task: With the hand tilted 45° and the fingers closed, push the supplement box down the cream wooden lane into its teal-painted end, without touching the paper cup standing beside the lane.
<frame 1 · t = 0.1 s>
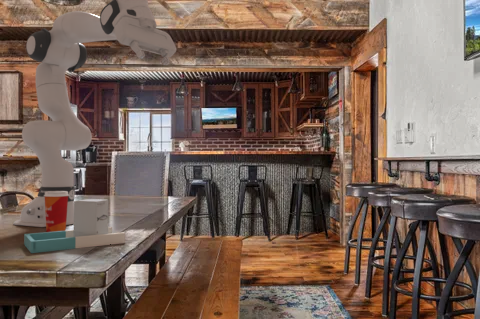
hand: (154, 60, 121), 54 cm above the table, tool tilted 30°, fingers open, 8 cm apart
supplement box: (91, 242, 121), resting in push lane
paper cup: (56, 234, 133), on the table
push lane: (77, 243, 119), on the table
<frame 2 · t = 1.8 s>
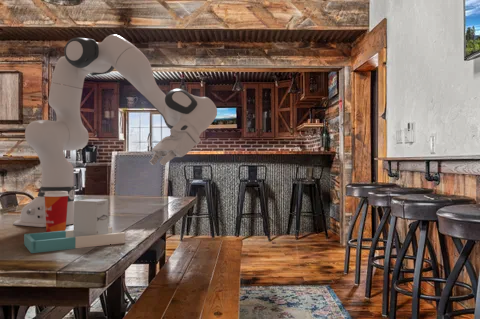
hand: (156, 163, 133), 23 cm above the table, tool tilted 45°, fingers open, 7 cm apart
nothing on the table moved.
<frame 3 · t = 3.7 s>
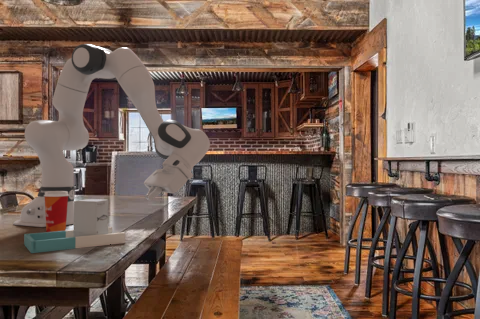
hand: (147, 199, 131), 12 cm above the table, tool tilted 45°, fingers closed
nothing on the table moved.
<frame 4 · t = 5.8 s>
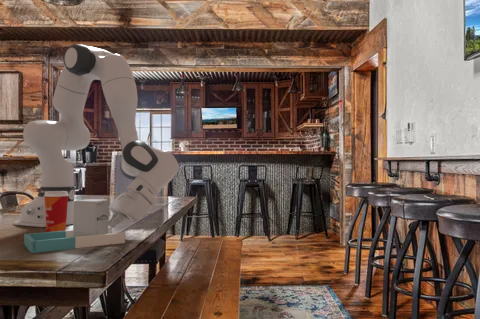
hand: (109, 226, 124), 4 cm above the table, tool tilted 45°, fingers closed
supplement box: (90, 242, 121), resting in push lane, touching gripper
everything else where it was.
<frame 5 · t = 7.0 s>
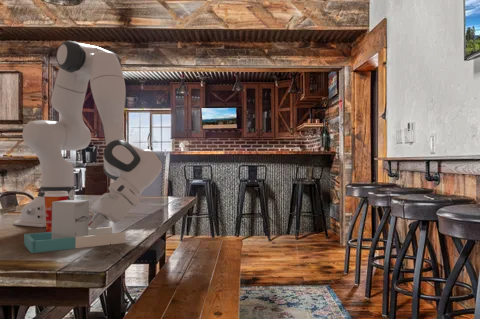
hand: (90, 227, 121), 4 cm above the table, tool tilted 45°, fingers closed
supplement box: (70, 244, 118), resting in push lane, touching gripper
everything else where it was.
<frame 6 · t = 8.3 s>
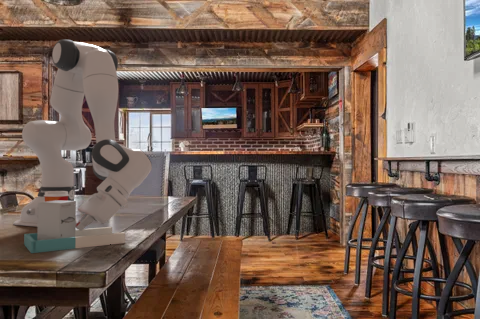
hand: (77, 228, 119), 4 cm above the table, tool tilted 45°, fingers closed
supplement box: (56, 246, 116), resting in push lane, touching gripper
everything else where it was.
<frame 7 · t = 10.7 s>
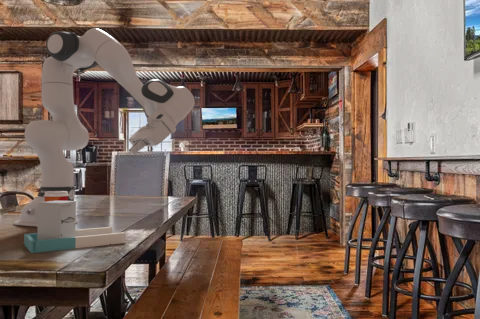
hand: (131, 152, 132), 27 cm above the table, tool tilted 45°, fingers closed
supplement box: (56, 246, 116), resting in push lane
everything else where it was.
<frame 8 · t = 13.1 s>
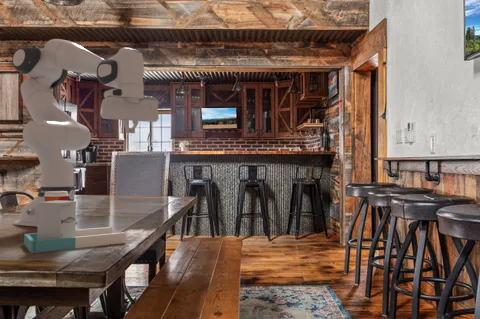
hand: (130, 133, 144), 34 cm above the table, tool pointing down, fingers closed
nothing on the table moved.
at the end: supplement box inside the target area (2.2 cm from its centre), resting in push lane; supplement box tilted 0°; paper cup moved 0.2 cm from its start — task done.
